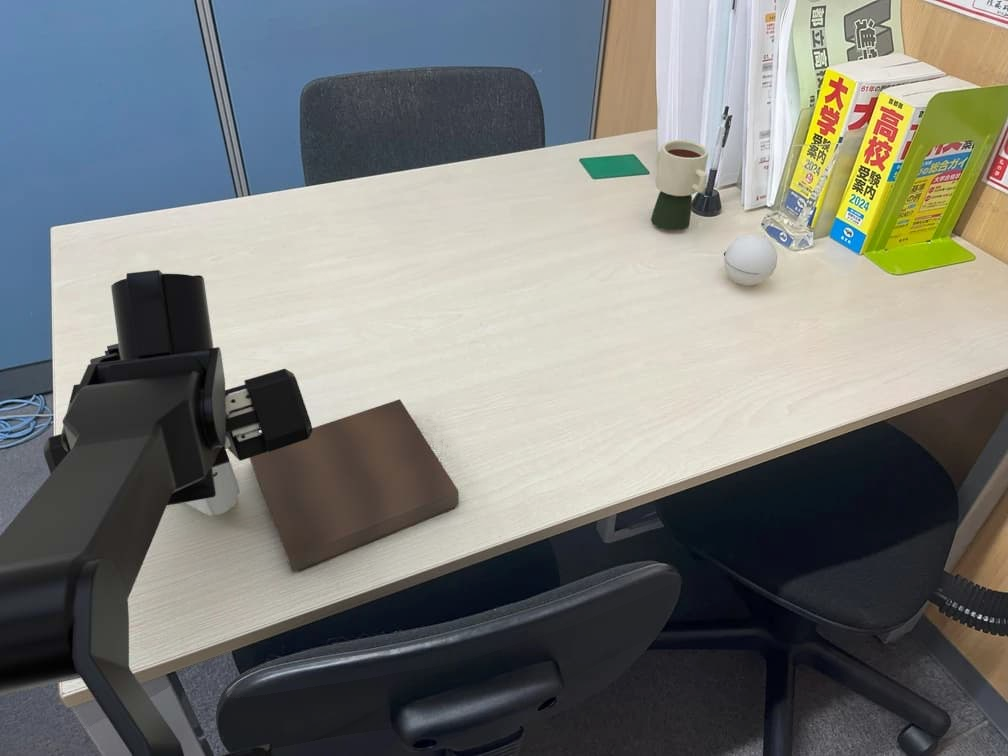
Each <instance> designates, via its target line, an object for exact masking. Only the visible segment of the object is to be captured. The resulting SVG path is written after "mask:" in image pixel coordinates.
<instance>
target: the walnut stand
mask: <svg viewBox="0 0 1008 756" xmlns="http://www.w3.org/2000/svg"><path fill="white" fill-rule="evenodd" d="M312 430H313V431H312V433H311V435H310V437H309V439H307V440H304V441H301V442H298V443H295V444H292V445H289V446H286V447H283V448H280V449H277V450H274V451H271V452H265V453H262V454H259V455H256V456H253V457H250V458H249V461H250V465H251V467H252V470H253V473H254V476H255V478H256V480H257V483H258V486H259V489H260V491H261V493H262V497H263V499H264V502H265V504H266V507H267V510H268V512H269V515H270V517H271V520H272V523H273V526H274V529H275V531H276V533H277V536H278V539H279V541H280V544H281V547H282V550H283V552H284V555H285V558H286V560H287V563H288V565H289V568H290V571H291V573H294V572H297V573H300V572H302V571H305V570H308V569H311V568H313V567H315V566H317V565H320V564H322V563H325V562H327V561H329V560H332V559H334V558H337V557H339V556H342V555H344V554H347V553H349V552H351V551H354V550H356V549H359V548H362V547H364V546H366V545H369V544H371V543H373V542H377V541H379V540H382V539H383V538H386V537H388V536H391V535H393V534H396V533H398V532H401V531H403V530H405V529H409V528H410V527H413V526H416V525H418V524H421V523H422V522H425V521H428V520H429V519H430V520H431V519H433V518H435V517H437V516H440V515H443V514H445V513H447V512H450V511H452V510H455V508H456V507H457V506H459V505H460V501H459V499H460V498H459V497H460V495H459V489H458V488H457V486H456V485H455V483H454V482H453V480H452V479H451V476H450V475H449V474H448V472H447V470H446V469H445V468H444V466H443V464H442V463H441V461H440V460H439V458H438V456H437V455H436V453H435V452H434V450H433V449H432V447H431V445H430V444H429V443H428V441H427V439H426V438H425V437H424V434H423V433H422V431H421V429H420V428H419V427H418V425H417V424H416V422H415V421H414V419H413V417H412V416H411V414H410V413H409V411H408V409H407V407H406V406H405V405H404V403H403V402H402V400H401V399H396V400H393V401H390V402H387V403H384V404H381V405H377V406H374V407H372V408H368V409H366V410H363V411H360V412H356V413H354V414H351V415H347V416H344V417H342V418H338V419H336V420H333V421H330V422H326V423H323V424H320V425H318V426H314V427H312Z"/></svg>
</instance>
